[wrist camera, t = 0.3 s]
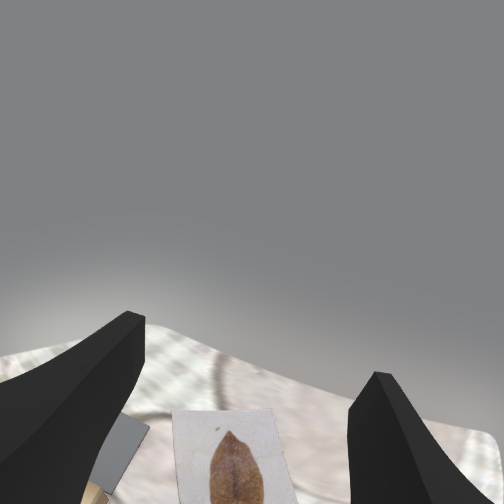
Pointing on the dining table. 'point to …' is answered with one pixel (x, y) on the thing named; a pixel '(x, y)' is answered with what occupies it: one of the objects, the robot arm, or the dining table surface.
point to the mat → (117, 452)
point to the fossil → (230, 458)
